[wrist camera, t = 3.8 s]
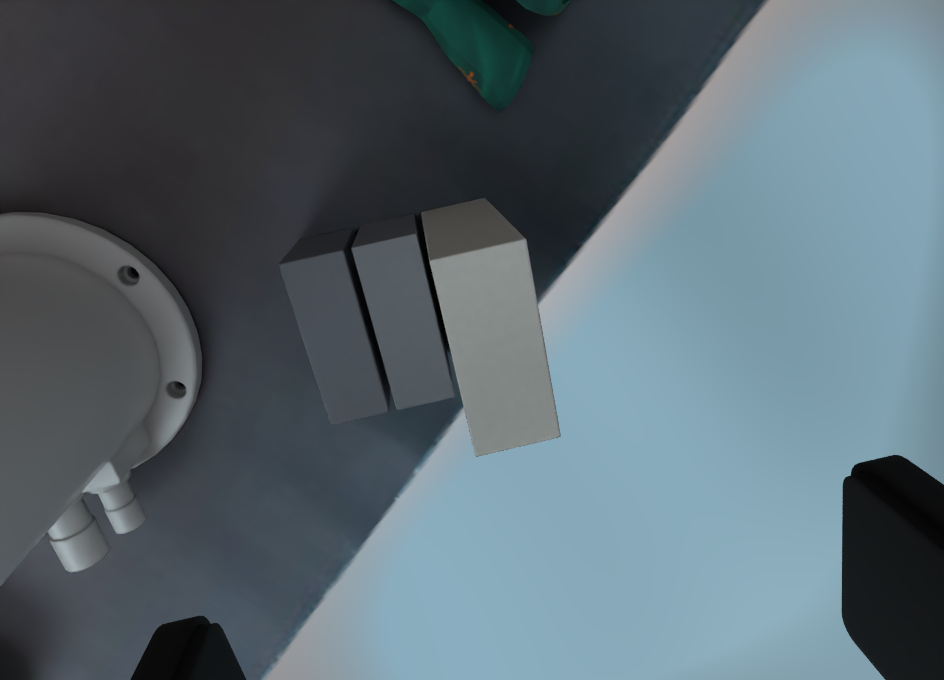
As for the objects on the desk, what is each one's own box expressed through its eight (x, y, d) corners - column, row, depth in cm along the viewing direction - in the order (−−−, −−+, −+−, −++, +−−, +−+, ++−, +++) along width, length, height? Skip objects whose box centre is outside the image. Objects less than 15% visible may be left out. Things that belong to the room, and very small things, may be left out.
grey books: (447, 353, 30) (455, 397, 26) (341, 378, 30) (330, 426, 25) (414, 213, 28) (416, 233, 23) (298, 239, 28) (277, 264, 23)
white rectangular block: (485, 197, 28) (526, 238, 19) (512, 338, 30) (561, 437, 21) (420, 212, 28) (428, 260, 18) (453, 352, 30) (475, 457, 21)
